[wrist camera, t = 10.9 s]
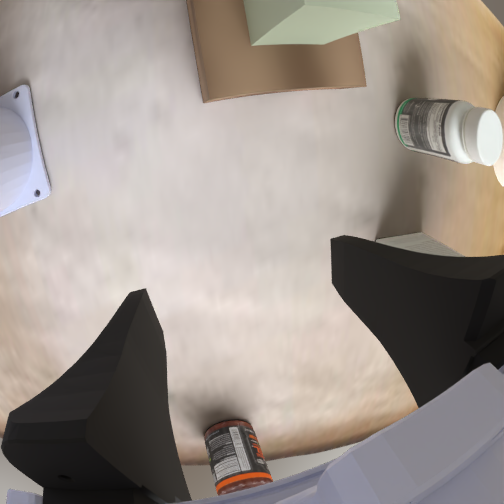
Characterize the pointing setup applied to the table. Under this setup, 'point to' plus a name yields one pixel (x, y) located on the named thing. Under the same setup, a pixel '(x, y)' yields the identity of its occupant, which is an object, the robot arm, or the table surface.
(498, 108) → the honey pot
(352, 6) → the sage block
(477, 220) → the table surface
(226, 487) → the supplement bottle
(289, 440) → the table surface
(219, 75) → the walnut base
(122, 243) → the table surface
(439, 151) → the pill bottle
